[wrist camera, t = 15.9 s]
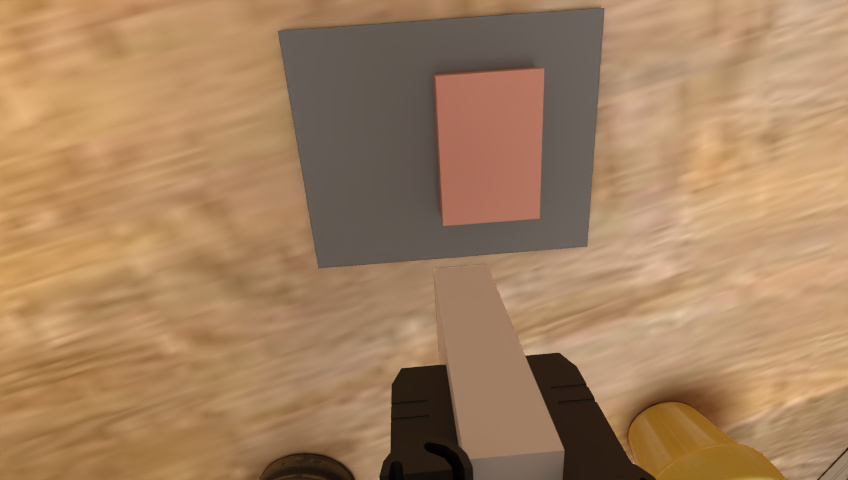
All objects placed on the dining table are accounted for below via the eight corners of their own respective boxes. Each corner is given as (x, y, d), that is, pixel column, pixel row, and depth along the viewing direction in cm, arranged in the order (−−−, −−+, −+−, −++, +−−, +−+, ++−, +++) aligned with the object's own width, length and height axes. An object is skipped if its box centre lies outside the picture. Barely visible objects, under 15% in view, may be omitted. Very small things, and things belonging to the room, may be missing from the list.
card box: (443, 225, 31) (539, 218, 31) (435, 76, 28) (544, 68, 28) (440, 215, 33) (530, 208, 33) (433, 74, 30) (534, 66, 30)
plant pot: (718, 459, 45) (799, 563, 36) (611, 480, 45) (664, 588, 36) (721, 373, 41) (813, 465, 32) (604, 397, 41) (662, 495, 32)
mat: (319, 264, 35) (318, 268, 34) (280, 31, 29) (278, 31, 28) (584, 243, 35) (587, 246, 35) (600, 8, 29) (604, 7, 29)
